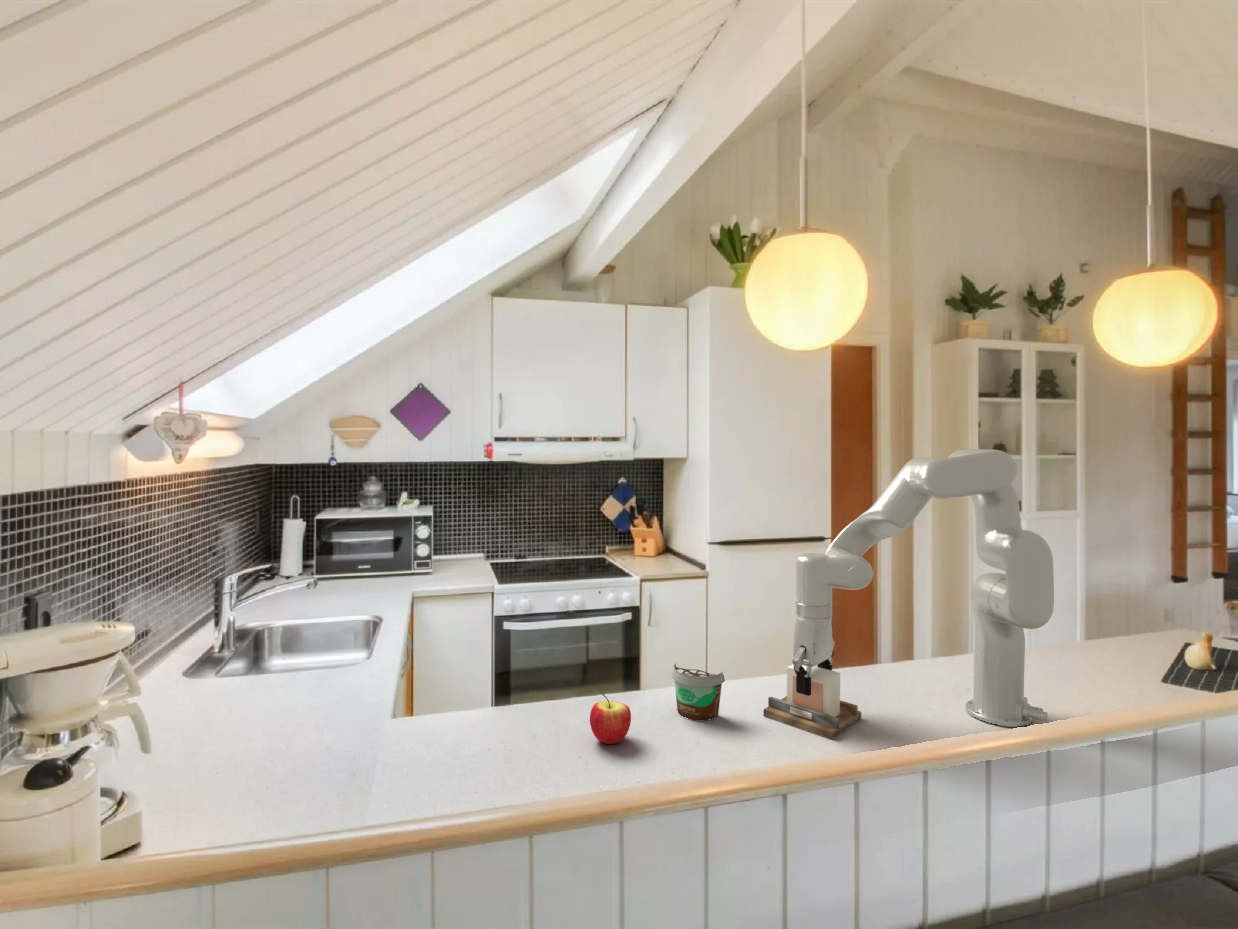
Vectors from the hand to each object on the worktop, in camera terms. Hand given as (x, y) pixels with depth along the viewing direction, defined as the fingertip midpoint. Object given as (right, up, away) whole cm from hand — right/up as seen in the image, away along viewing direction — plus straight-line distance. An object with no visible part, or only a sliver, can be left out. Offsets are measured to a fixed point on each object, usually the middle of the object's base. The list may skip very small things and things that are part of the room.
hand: (814, 687), depth 137 cm
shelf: (0, -7, 0) cm, 7 cm away
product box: (0, -5, 0) cm, 5 cm away
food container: (-27, -7, +1) cm, 28 cm away
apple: (-45, -7, -11) cm, 47 cm away
